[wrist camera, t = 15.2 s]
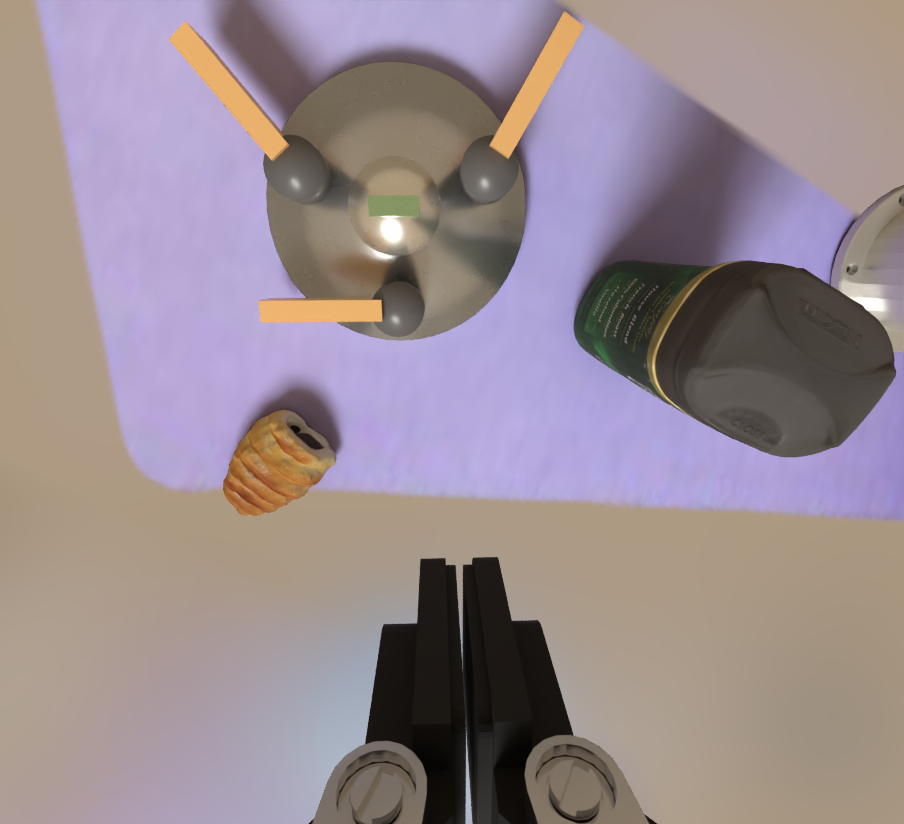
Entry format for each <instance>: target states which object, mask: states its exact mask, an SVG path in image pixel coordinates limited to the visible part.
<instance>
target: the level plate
mask: <svg viewBox="0 0 904 824" xmlns="http://www.w3.org/2000/svg"><path fill="white" fill-rule="evenodd" d="M500 126H501V122H500V121H499V120H498V118H497V117H496V116H495V114H494V113H493V112H492V110H491V109H490V108H489V107H488V106H487V105H486V104H485V103H484V102H483V101H482V100H481V99H480V98H479V97H478V95H476V94H475V93H474V92H473V91H471V90H470V89H469V88H467V87H466V86H465V85H464V84H462V83H461V82H459V81H457V80H455V79H454V78H452V77H450V76H448V75H447V74H444V73H442V72H439V71H437V70H434V69H432V68H429V67H426V66H421V65H417V64H413V63H405V62H393V61H392V62H377V63H371V64H366V65H362V66H357V67H354V68H352V69H349V70H347V71H344V72H342V73H339V74H338V75H336V76H334V77H332V78H331V79H329V80H327V81H325V82H324V83H322V84H321V85H320V86H319V87H317V88H316V89H315V90H314V91H312V92H311V93H310V94H309V95H308V96H307V97H306V98H305V99H304V100H303V101H302V102H301V104H300V105H299V106H298V107H297V108H296V109H295V111H294V112H293V114H292V115H291V117H290V118H289V119H288V121H287V122H286V124H285V126H284V128H283V130H282V133H283V134H284V135H297V136H300V137H303V138H305V139H306V140H308V141H309V142H310V143H311V144H312V145H313V146H314V147H315V148H316V149H317V150H318V151H319V152H320V153H321V154H322V155H323V156H324V157H325V158H326V160H327V161H328V163H329V165H330V167H331V171H332V185H331V189H330V191H329V193H328V194H327V196H326V197H325V198H324V199H323V200H321V201H320V202H318V203H315V204H311V205H305V204H300V203H297V202H295V201H293V200H291V199H289V198H287V197H285V196H282V195H281V194H279V193H278V192H277V191H275V190H274V189H273V188H272V186H271V185H270V184H269V182H268V180H267V192H266V195H267V213H268V219H269V225H270V231H271V234H272V237H273V241H274V244H275V247H276V250H277V252H278V254H279V257H280V259H281V262H282V264H283V265H284V267H285V269H286V271H287V272H288V274H289V276H290V278H291V279H292V281H293V282H294V283H295V285H296V286H297V287H298V289H299V290H300V291H301V293H302V294H303V295H304V296H305V297H306V298H373V296H374V295H375V293H376V292H377V291H378V290H379V289H380V288H381V287H383V286H384V285H386V284H389V283H392V282H396V281H403V282H407V283H410V284H412V285H414V286H415V287H416V288H417V289H418V290H419V291H420V292H421V294H422V296H423V298H424V302H425V313H424V317H423V320H422V322H421V324H420V326H419V327H418V328H417V329H416V330H415V331H414V332H413V333H411V334H409V335H407V336H403V337H393V336H389V335H387V334H385V333H383V332H382V331H380V330H379V329H378V328H377V326H376V325H375V324H374V322H337V323H339V324H340V325H342V326H344V327H346V328H349V329H351V330H353V331H355V332H358V333H361V334H364V335H367V336H370V337H375V338H381V339H386V340H414V339H421V338H426V337H431V336H434V335H437V334H440V333H443V332H446V331H448V330H450V329H452V328H454V327H456V326H458V325H460V324H462V323H464V322H465V321H466V320H468V319H469V318H471V317H472V316H474V315H475V314H476V313H477V312H479V311H480V310H481V309H482V308H483V307H484V306H485V305H486V304H487V303H488V302H489V301H490V300H491V299H492V298H493V296H494V295H495V294H496V293H497V292H498V290H499V289H500V287H501V286H502V284H503V283H504V281H505V280H506V278H507V277H508V275H509V273H510V271H511V269H512V267H513V265H514V263H515V260H516V257H517V254H518V251H519V249H520V245H521V241H522V236H523V232H524V225H525V215H526V198H525V187H524V180H523V174H522V171H521V167H520V163H519V173H518V177H517V180H516V182H515V184H514V185H513V187H512V188H511V189H510V190H509V191H508V192H507V194H506V195H505V196H504V197H503V198H501V199H500V200H499V201H497V202H495V203H492V204H488V205H483V204H478V203H475V202H473V201H472V200H470V199H469V198H468V197H467V196H466V195H465V193H464V192H463V190H462V188H461V185H460V180H459V173H460V167H461V163H462V159H463V156H464V154H465V152H466V150H467V148H468V147H469V146H470V144H471V143H473V142H474V141H475V140H476V139H478V138H480V137H483V136H488V135H493V136H495V135H496V133H497V131H498V129H499V127H500ZM514 150H515V149H514Z"/></svg>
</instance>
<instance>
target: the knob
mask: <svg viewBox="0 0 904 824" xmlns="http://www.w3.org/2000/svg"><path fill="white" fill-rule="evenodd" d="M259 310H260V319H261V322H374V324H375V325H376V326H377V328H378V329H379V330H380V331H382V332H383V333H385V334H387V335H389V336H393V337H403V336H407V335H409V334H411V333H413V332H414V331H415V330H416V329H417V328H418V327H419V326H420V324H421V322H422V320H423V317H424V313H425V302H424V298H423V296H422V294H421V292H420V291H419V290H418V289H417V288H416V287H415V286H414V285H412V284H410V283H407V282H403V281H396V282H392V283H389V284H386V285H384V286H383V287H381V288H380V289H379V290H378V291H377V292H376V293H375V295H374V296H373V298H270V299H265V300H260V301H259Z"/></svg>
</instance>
